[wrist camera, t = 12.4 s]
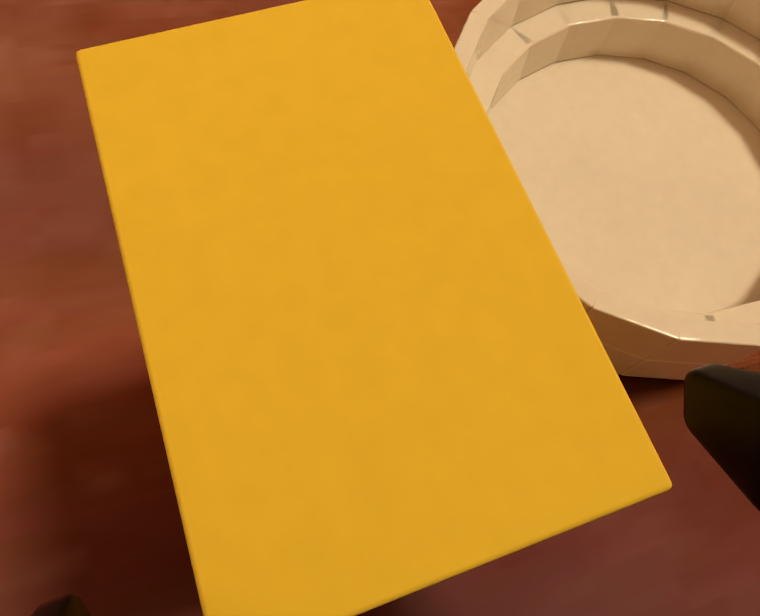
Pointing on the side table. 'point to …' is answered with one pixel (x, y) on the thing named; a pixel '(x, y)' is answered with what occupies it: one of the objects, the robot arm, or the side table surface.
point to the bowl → (637, 163)
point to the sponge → (348, 310)
